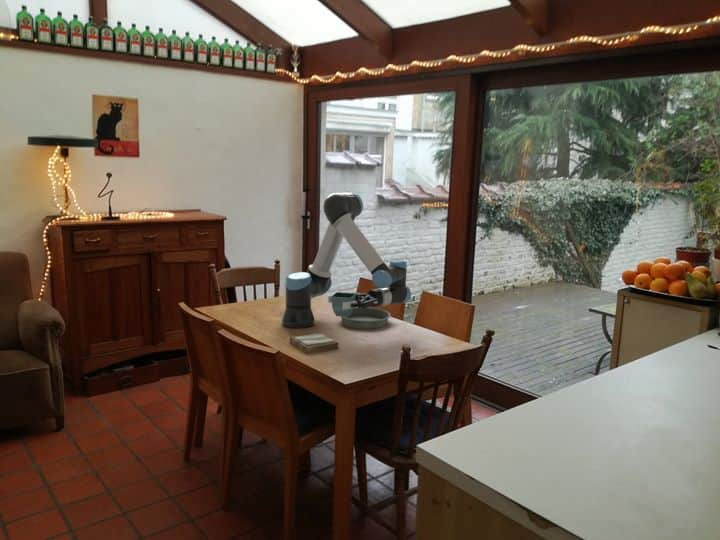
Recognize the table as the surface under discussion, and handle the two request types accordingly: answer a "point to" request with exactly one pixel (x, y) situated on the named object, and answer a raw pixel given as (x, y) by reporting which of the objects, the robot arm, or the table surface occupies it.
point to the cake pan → (366, 318)
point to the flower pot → (338, 303)
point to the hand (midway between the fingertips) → (335, 302)
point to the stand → (314, 342)
